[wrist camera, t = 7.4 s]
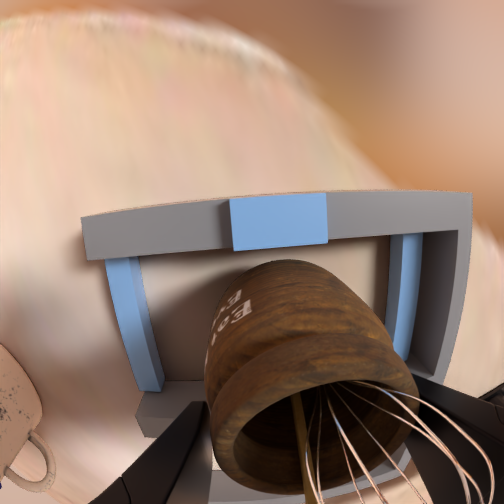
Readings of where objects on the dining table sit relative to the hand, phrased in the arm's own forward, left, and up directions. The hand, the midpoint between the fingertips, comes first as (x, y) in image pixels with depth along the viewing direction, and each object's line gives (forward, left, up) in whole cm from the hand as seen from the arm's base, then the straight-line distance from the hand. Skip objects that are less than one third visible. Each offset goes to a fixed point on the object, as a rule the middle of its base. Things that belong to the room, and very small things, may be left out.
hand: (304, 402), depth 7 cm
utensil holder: (0, 0, -5) cm, 5 cm away
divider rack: (0, +4, -6) cm, 8 cm away
